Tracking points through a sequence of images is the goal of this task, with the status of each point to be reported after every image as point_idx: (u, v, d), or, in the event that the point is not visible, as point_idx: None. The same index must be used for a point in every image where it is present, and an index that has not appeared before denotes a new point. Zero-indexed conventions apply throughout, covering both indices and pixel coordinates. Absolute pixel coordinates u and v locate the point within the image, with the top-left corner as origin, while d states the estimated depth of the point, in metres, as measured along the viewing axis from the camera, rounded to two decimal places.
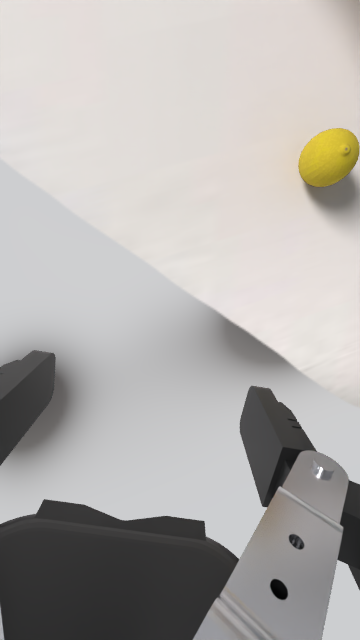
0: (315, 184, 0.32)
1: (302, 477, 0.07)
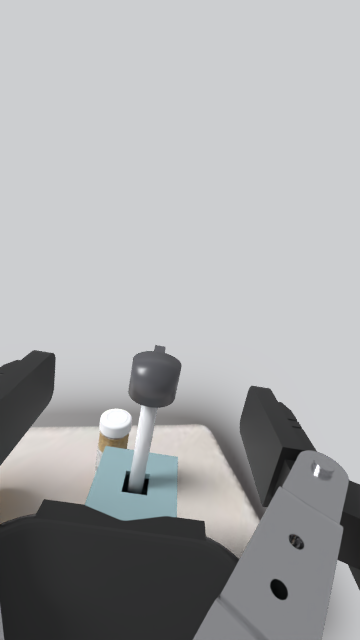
0: None
1: (302, 477, 0.07)
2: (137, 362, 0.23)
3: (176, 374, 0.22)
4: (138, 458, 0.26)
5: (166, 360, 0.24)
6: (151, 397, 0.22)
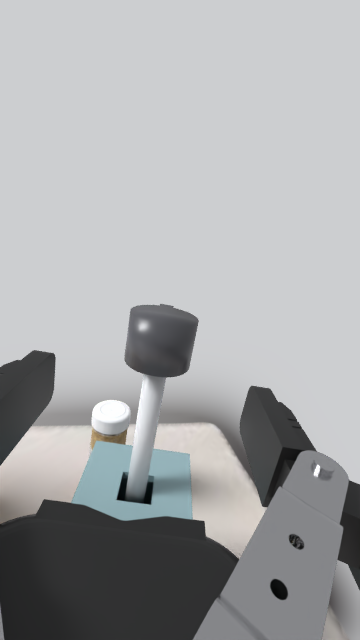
0: None
1: (302, 477, 0.07)
2: (136, 313, 0.16)
3: (192, 328, 0.16)
4: (139, 453, 0.19)
5: (177, 313, 0.17)
6: (157, 361, 0.15)
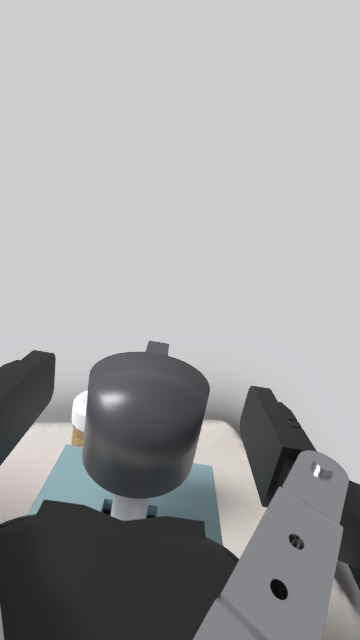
0: None
1: (302, 477, 0.07)
2: (99, 379, 0.09)
3: (199, 409, 0.09)
4: None
5: (172, 371, 0.10)
6: (134, 474, 0.08)
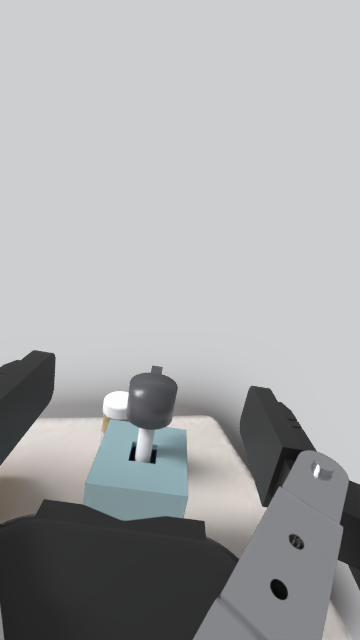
0: None
1: (302, 477, 0.07)
2: (134, 385, 0.23)
3: (172, 396, 0.23)
4: None
5: (162, 381, 0.24)
6: (148, 419, 0.22)
